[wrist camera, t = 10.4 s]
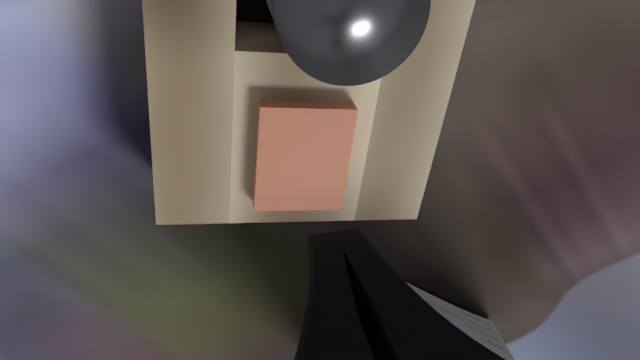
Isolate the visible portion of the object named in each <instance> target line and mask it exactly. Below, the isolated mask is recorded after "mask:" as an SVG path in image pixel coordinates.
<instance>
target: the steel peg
mask: <svg viewBox="0 0 640 360" xmlns="http://www.w3.org/2000/svg"><path fill="white" fill-rule="evenodd" d="M266 1H267V4H268V6H269V9H270V12H271V15H272V17H273V20H274V23H275V25H276V28H277V31H278V34H279V36H280V39H281V42H282V44H283V47H284V48H285V50H286V52H287V54H288V55H289V57H290V58H291V59H292V61H293V62H294V63H295V64H296V65H297V66H298V67H299V68H300V69H301V70H302V71H304V72H305V73H306V74H307V75H309V76H311V77H313V78H314V79H316V80H319V81H321V82H324V83H327V84H331V85H338V86H356V85H362V84H366V83H370V82H373V81H375V80H378V79H380V78H382V77H384V76H386V75H388V74H389V73H391V72H392V71H393V70H395V69H396V68H397V67H399V66H400V65H401V64H402V63H403V62H404V61H405V60H406V59H407V58H408V57H409V56H410V55H411V53H412V52H413V51H414V49H415V48H416V46H417V45H418V43H419V41H420V40H421V38H422V35H423V33H424V31H425V29H426V25H427V22H428V19H429V13H430V6H431V0H266Z"/></svg>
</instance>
